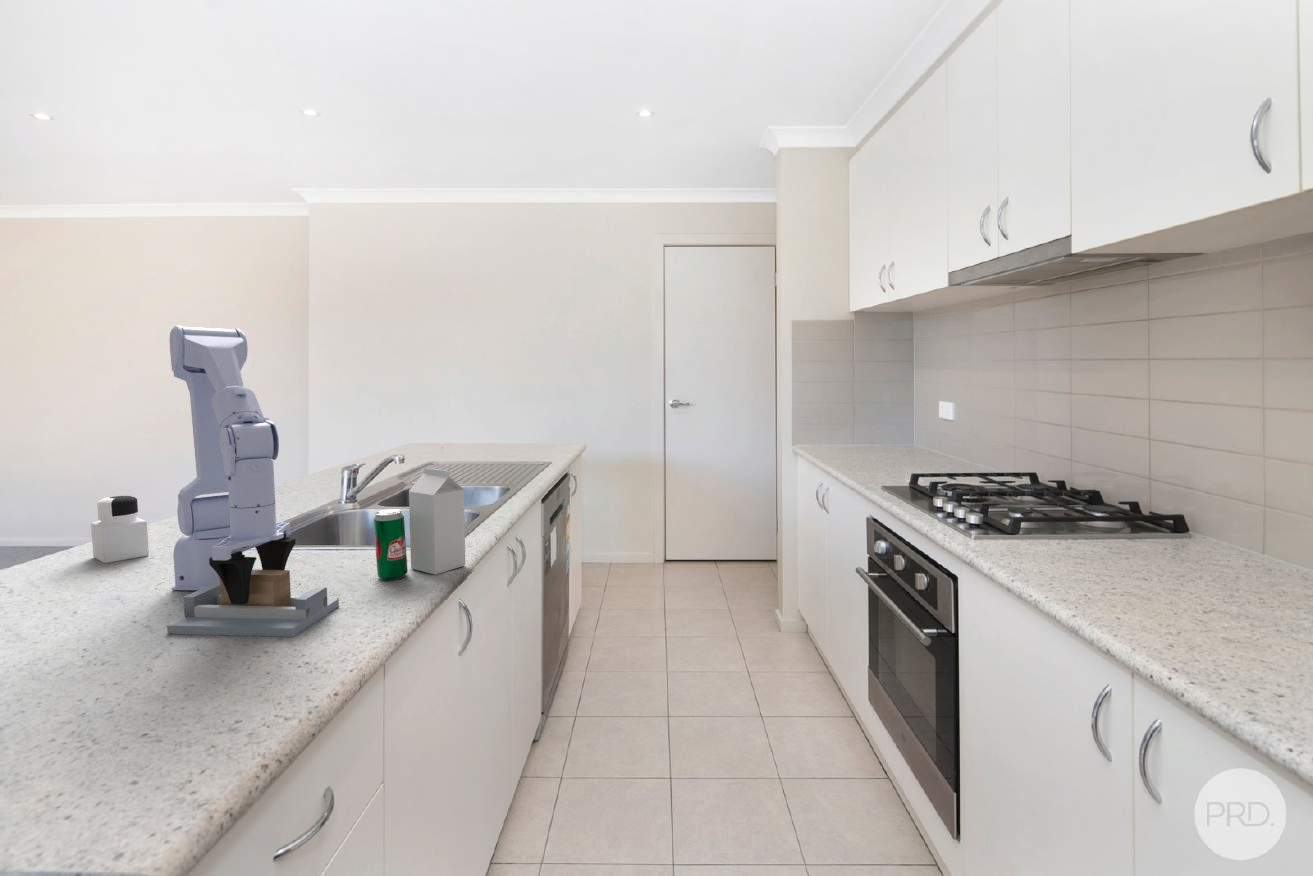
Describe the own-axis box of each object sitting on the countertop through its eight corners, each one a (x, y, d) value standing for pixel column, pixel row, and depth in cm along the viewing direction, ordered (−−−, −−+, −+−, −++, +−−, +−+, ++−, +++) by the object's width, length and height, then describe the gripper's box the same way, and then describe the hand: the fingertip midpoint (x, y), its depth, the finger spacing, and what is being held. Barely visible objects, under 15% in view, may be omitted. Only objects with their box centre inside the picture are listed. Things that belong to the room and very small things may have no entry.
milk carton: (435, 575, 116) (433, 473, 114) (410, 569, 120) (407, 469, 118) (465, 566, 122) (464, 468, 120) (441, 560, 126) (439, 465, 124)
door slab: (221, 613, 93) (219, 574, 93) (233, 607, 96) (231, 569, 95) (281, 615, 93) (279, 575, 92) (291, 608, 95) (289, 570, 95)
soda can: (392, 582, 112) (388, 516, 110) (371, 579, 114) (366, 514, 112) (414, 573, 116) (409, 510, 115) (393, 570, 118) (388, 507, 117)
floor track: (167, 633, 89) (165, 604, 88) (227, 603, 101) (226, 577, 100) (293, 636, 88) (291, 607, 88) (338, 606, 100) (337, 580, 100)
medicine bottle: (137, 549, 131) (134, 492, 130) (149, 555, 127) (145, 496, 125) (92, 557, 125) (88, 497, 124) (103, 564, 121) (99, 502, 120)
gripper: (245, 515, 85) (250, 612, 87) (308, 495, 100) (311, 579, 101) (194, 514, 86) (200, 611, 87) (264, 495, 100) (268, 578, 101)
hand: (257, 594), depth 94 cm, fingers open, 7 cm apart
